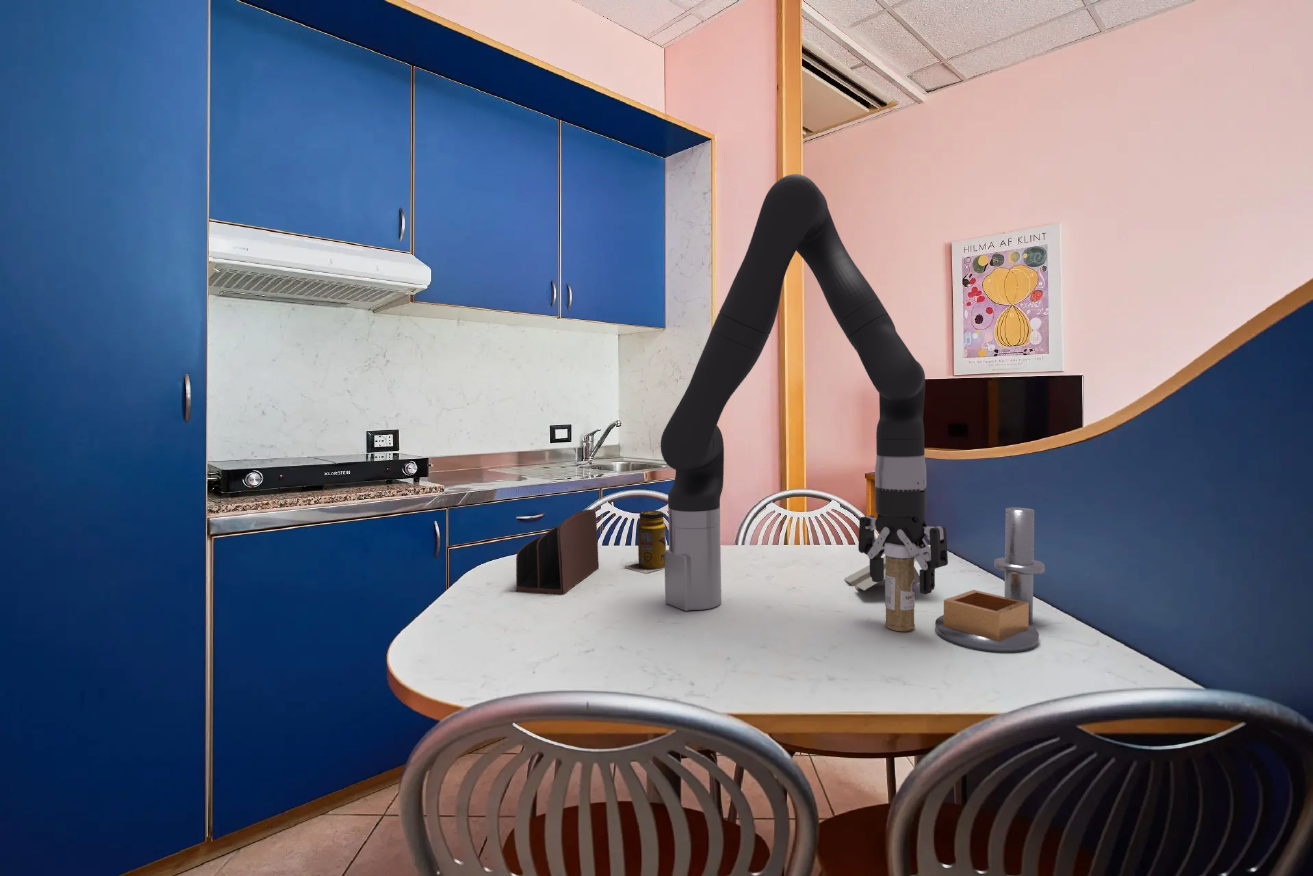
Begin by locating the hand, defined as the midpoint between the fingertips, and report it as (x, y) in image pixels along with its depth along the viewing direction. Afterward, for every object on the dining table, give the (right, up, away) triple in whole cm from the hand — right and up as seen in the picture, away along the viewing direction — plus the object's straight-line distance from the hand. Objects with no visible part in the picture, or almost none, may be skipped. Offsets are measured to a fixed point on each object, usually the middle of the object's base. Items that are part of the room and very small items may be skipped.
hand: (901, 587), depth 104 cm
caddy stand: (+14, -6, -2) cm, 16 cm away
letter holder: (-58, -6, +32) cm, 67 cm away
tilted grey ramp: (+5, -6, +21) cm, 22 cm away
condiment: (-40, -5, +41) cm, 57 cm away
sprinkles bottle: (0, -7, 0) cm, 7 cm away
